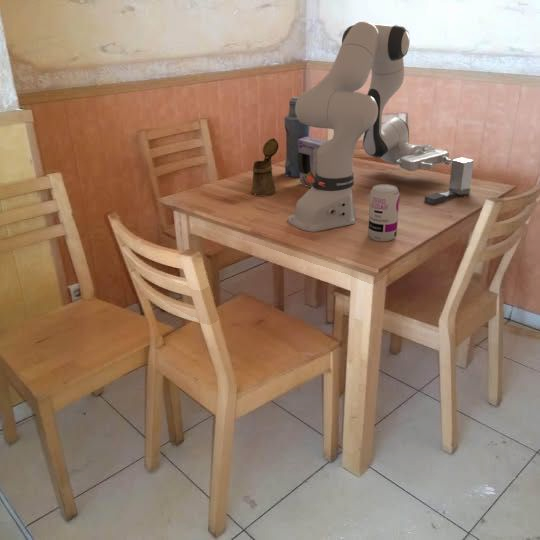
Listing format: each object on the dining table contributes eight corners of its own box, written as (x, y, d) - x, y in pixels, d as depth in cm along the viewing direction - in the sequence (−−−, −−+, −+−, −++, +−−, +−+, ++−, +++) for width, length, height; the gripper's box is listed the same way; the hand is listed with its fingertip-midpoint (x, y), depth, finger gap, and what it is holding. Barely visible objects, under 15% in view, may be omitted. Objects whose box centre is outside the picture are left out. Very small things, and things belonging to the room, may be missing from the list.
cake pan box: (297, 183, 213) (296, 137, 205) (307, 181, 216) (307, 135, 208) (327, 196, 199) (328, 147, 191) (339, 193, 201) (340, 144, 193)
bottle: (283, 172, 227) (281, 96, 214) (306, 170, 229) (306, 94, 215) (288, 178, 219) (286, 100, 206) (312, 176, 220) (312, 98, 207)
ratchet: (457, 189, 200) (459, 171, 198) (473, 194, 195) (476, 176, 192) (420, 200, 191) (422, 182, 188) (436, 205, 186) (438, 187, 183)
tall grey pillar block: (460, 191, 192) (464, 163, 188) (449, 188, 196) (452, 160, 191) (470, 188, 195) (473, 160, 190) (458, 185, 198) (461, 157, 194)
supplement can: (394, 231, 167) (398, 183, 161) (397, 242, 160) (401, 192, 153) (367, 231, 168) (369, 183, 162) (368, 242, 161) (371, 192, 154)
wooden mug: (285, 186, 210) (284, 139, 202) (267, 197, 199) (266, 147, 191) (265, 183, 214) (263, 137, 206) (246, 194, 204) (244, 145, 196)
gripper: (393, 153, 203) (422, 161, 192) (431, 144, 213) (461, 150, 202) (392, 170, 206) (420, 178, 195) (430, 160, 216) (459, 167, 205)
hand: (441, 164), depth 199 cm, fingers open, 8 cm apart
